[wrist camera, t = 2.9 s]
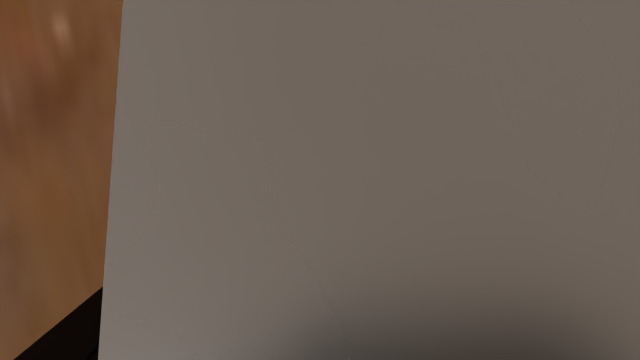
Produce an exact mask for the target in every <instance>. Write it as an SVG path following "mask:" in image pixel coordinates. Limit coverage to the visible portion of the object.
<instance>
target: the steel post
mask: <svg viewBox="0 0 640 360" xmlns="http://www.w3.org/2000/svg"><path fill="white" fill-rule="evenodd" d="M98 360H640V0H123V10H122V25H121V39H120V53H119V67H118V82H117V96H116V110H115V124H114V139H113V153H112V167H111V182H110V196H109V210H108V224H107V239H106V253H105V267H104V281H103V296H102V310H101V324H100V339H99V353H98Z"/></svg>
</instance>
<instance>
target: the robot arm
mask: <svg viewBox="0 0 640 360" xmlns="http://www.w3.org/2000/svg"><path fill="white" fill-rule="evenodd" d="M102 296H103V287H102V288H100V289H99V290H98V291H97V292H95V293H94V294H93V295H92V296H91V297H89V298H88V299H87V300H86V301H85V302H83V303H82V304H81V305H80V306H78V307H77V308H76V309H75V310H74V311H72V312H71V313H70V314H69V315H67V316H66V317H65V318H64V319H63V320H61V321H60V322H59V323H58V324H57V325H55V326H54V327H53V328H52V329H50V330H49V331H48V332H47V333H46V334H44V335H43V336H42V337H41V338H39V339H38V340H37V341H36V342H35V343H33V344H32V345H31V346H30V347H29V348H27V349H26V350H25V351H24V352H22V353H21V354H20V355H19V356H18V357H16V358H15V359H14V360H98V353H99V339H100V324H101V310H102Z"/></svg>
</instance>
